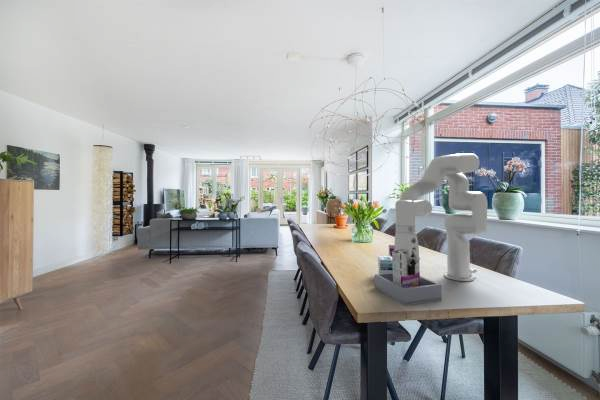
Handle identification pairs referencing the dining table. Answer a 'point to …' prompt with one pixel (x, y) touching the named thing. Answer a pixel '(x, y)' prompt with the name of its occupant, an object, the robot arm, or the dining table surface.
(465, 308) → the dining table surface
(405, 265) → the candy bar box
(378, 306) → the dining table surface
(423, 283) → the tray
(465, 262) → the robot arm
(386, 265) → the light bulb box
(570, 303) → the dining table surface
